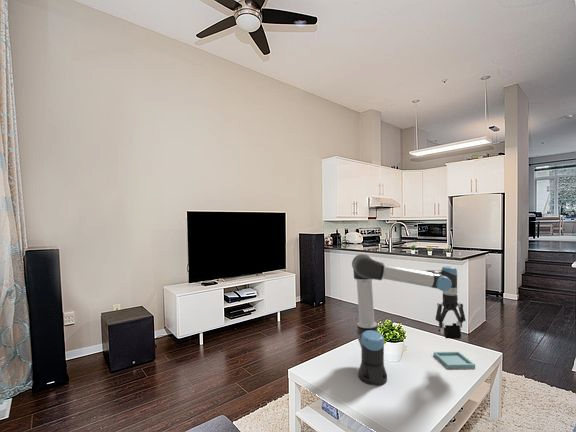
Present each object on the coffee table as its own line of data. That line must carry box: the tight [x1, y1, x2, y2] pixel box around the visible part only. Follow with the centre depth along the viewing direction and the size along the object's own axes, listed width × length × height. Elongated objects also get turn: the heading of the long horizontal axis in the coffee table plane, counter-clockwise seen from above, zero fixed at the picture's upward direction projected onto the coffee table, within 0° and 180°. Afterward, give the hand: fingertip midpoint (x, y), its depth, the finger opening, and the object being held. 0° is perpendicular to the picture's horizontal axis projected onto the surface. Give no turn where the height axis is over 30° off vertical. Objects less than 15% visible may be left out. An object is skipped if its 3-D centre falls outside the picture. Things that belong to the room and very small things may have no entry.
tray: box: [433, 351, 476, 369], centre depth 180 cm, size 16×16×2 cm
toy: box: [438, 322, 462, 340], centre depth 174 cm, size 9×8×15 cm
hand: (450, 333), depth 172 cm, fingers closed on toy, 9 cm apart
